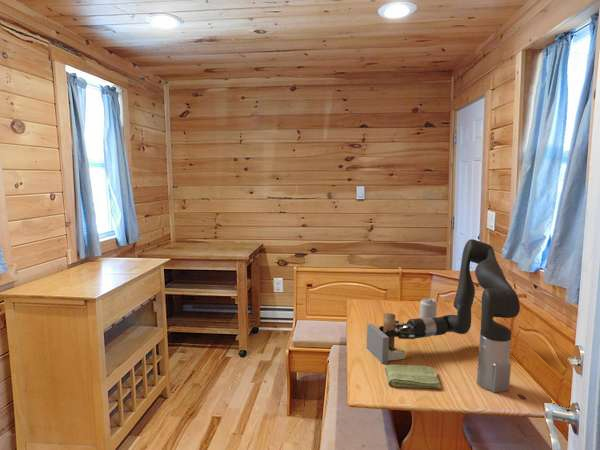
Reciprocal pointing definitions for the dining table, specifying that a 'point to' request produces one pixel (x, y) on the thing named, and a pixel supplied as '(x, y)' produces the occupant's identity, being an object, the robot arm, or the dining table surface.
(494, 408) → the dining table surface
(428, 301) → the can
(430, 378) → the washcloth
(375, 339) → the wall
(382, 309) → the dining table surface
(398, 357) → the bracket
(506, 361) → the robot arm
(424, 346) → the dining table surface
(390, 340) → the dowel
